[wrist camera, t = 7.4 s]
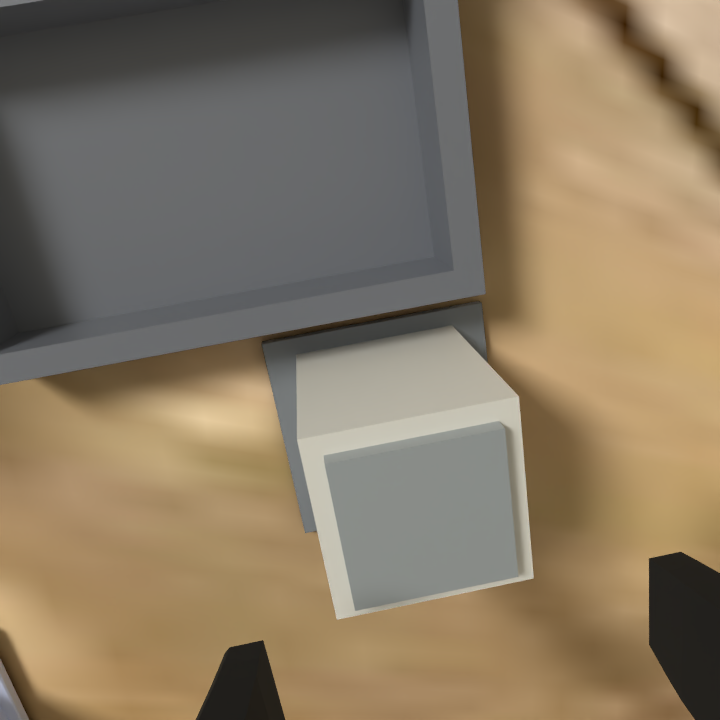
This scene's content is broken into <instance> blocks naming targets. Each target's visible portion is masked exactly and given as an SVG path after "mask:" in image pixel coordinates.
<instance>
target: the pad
mask: <svg viewBox="0 0 720 720" xmlns="http://www.w3.org/2000/svg"><path fill="white" fill-rule="evenodd" d="M451 325H452V326H453V327H454V328H455V329H456V330H457V331H458V332H459V333H460V334H461V335H462V337H463V338H464V339H465V340H466V341H467V342H468V343H469V344H470V345H471V346H472V347H473V348H474V349H475V350H476V351H477V352H478V354H479V355H480V356H481V357H482V358H483V359H484V360H485V361H486V362H487V352H486V341H485V331H484V321H483V311H482V303H481V302H480V301H476V302H471V303H465V304H460V305H455V306H449V307H444V308H439V309H433V310H428V311H423V312H417V313H412V314H407V315H401V316H396V317H391V318H385V319H380V320H375V321H369V322H364V323H359V324H353V325H348V326H343V327H337V328H332V329H327V330H321V331H316V332H311V333H305V334H300V335H295V336H289V337H284V338H279V339H273V340H268V341H263V342H262V348H263V352H264V356H265V361H266V365H267V369H268V374H269V378H270V382H271V387H272V391H273V396H274V400H275V404H276V409H277V413H278V417H279V422H280V426H281V430H282V435H283V439H284V443H285V448H286V452H287V456H288V461H289V465H290V469H291V474H292V478H293V482H294V487H295V491H296V495H297V500H298V504H299V508H300V513H301V517H302V521H303V526H304V530H305V533H308V532H313V531H317V528H316V523H315V519H314V514H313V510H312V505H311V501H310V496H309V492H308V487H307V483H306V478H305V474H304V469H303V465H302V460H301V456H300V451H299V447H298V442H297V386H296V355H297V354H303V353H308V352H313V351H318V350H324V349H329V348H334V347H340V346H345V345H350V344H356V343H361V342H366V341H371V340H377V339H382V338H387V337H393V336H398V335H403V334H408V333H414V332H419V331H424V330H430V329H435V328H440V327H446V326H451ZM487 363H488V362H487Z"/></svg>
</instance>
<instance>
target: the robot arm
mask: <svg viewBox="0 0 720 720" xmlns="http://www.w3.org/2000/svg"><path fill="white" fill-rule="evenodd" d="M649 645H650V647H651V649H652V650H653V652H654V654H655V656H656V657H657V659H658V661H659V663H660V665H661V666H662V668H663V670H664V672H665V674H666V675H667V677H668V679H669V680H670V682H671V684H672V685H673V687H674V689H675V690H676V692H677V694H678V695H679V697H680V699H681V700H682V702H683V703H684V705H685V706H686V707H687V709H688V710H689V712H690V713H691V714H692V716H693V717H694V719H695V720H720V573H718V572H716V571H715V570H713V569H711V568H709V567H708V566H706V565H704V564H702V563H701V562H699V561H697V560H695V559H693V558H691V557H690V556H688V555H686V554H684V553H682V552H678V553H673V554H668V555H664V556H659V557H654V558H649ZM0 720H29V718H28V716H27V714H26V712H25V710H24V708H23V706H22V704H21V701H20V699H19V697H18V695H17V693H16V691H15V689H14V687H13V685H12V682H11V680H10V678H9V676H8V674H7V672H6V670H5V668H4V666H3V663H2V661H1V659H0ZM196 720H285V717H284V714H283V710H282V706H281V703H280V699H279V696H278V692H277V688H276V685H275V681H274V678H273V674H272V670H271V667H270V663H269V660H268V656H267V652H266V649H265V645H264V642H263V640H262V641H258V642H253V643H248V644H244V645H239V646H234V647H230V648H229V649H228V650H227V651H226V653H225V654H224V657H223V659H222V662H221V664H220V667H219V669H218V671H217V674H216V676H215V678H214V681H213V683H212V685H211V688H210V690H209V692H208V694H207V696H206V699H205V701H204V703H203V705H202V707H201V710H200V712H199V714H198V716H197V718H196Z"/></svg>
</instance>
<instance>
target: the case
mask: <svg viewBox="0 0 720 720" xmlns="http://www.w3.org/2000/svg"><path fill="white" fill-rule="evenodd" d="M483 294H486V292H485V281H484V271H483V260H482V250H481V239H480V229H479V218H478V208H477V197H476V187H475V176H474V166H473V155H472V145H471V134H470V124H469V113H468V103H467V92H466V82H465V71H464V61H463V50H462V40H461V29H460V19H459V8H458V0H0V385H2V384H7V383H13V382H18V381H23V380H29V379H34V378H39V377H45V376H50V375H56V374H61V373H66V372H72V371H77V370H82V369H88V368H93V367H98V366H104V365H109V364H114V363H120V362H125V361H130V360H136V359H141V358H146V357H152V356H157V355H162V354H168V353H173V352H178V351H184V350H189V349H194V348H200V347H205V346H211V345H216V344H221V343H227V342H232V341H237V340H243V339H248V338H253V337H259V336H264V335H269V334H275V333H280V332H285V331H291V330H296V329H301V328H307V327H312V326H317V325H323V324H328V323H333V322H339V321H344V320H350V319H355V318H360V317H366V316H371V315H376V314H382V313H387V312H392V311H398V310H403V309H408V308H414V307H419V306H424V305H430V304H435V303H440V302H446V301H451V300H456V299H462V298H467V297H472V296H478V295H483Z"/></svg>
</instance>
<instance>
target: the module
mask: <svg viewBox="0 0 720 720" xmlns="http://www.w3.org/2000/svg"><path fill="white" fill-rule="evenodd" d="M296 386H297V442H298V447H299V451H300V456H301V460H302V465H303V469H304V474H305V478H306V483H307V487H308V492H309V496H310V501H311V505H312V510H313V514H314V519H315V523H316V528H317V532H318V537H319V541H320V546H321V550H322V555H323V559H324V564H325V568H326V573H327V577H328V582H329V586H330V591H331V595H332V600H333V604H334V609H335V613H336V618H337V620H338V619H342V618H347V617H352V616H357V615H361V614H366V613H371V612H376V611H381V610H385V609H390V608H395V607H400V606H404V605H409V604H414V603H419V602H424V601H428V600H433V599H438V598H443V597H447V596H452V595H457V594H462V593H466V592H471V591H476V590H481V589H486V588H490V587H495V586H500V585H505V584H509V583H514V582H519V581H524V580H528V579H533V578H534V576H533V564H532V551H531V539H530V527H529V514H528V502H527V490H526V477H525V465H524V452H523V440H522V428H521V415H520V403H519V396H518V395H517V394H516V393H515V392H514V391H513V390H512V389H511V387H510V386H509V385H508V384H507V383H506V382H505V381H504V380H503V379H502V378H501V377H500V376H499V375H498V374H497V373H496V372H495V370H494V369H493V368H492V367H491V366H490V365H489V364H488V363H487V362H486V361H485V360H484V359H483V358H482V357H481V356H480V355H479V354H478V352H477V351H476V350H475V349H474V348H473V347H472V346H471V345H470V344H469V343H468V342H467V341H466V340H465V339H464V338H463V337H462V335H461V334H460V333H459V332H458V331H457V330H456V329H455V328H454V327H453V326H452V325H451V326H446V327H440V328H435V329H430V330H424V331H419V332H414V333H408V334H403V335H398V336H393V337H387V338H382V339H377V340H371V341H366V342H361V343H356V344H350V345H345V346H340V347H334V348H329V349H324V350H318V351H313V352H308V353H303V354H297V355H296Z"/></svg>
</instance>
